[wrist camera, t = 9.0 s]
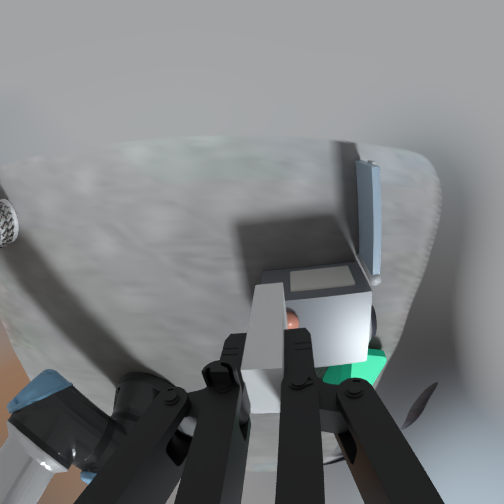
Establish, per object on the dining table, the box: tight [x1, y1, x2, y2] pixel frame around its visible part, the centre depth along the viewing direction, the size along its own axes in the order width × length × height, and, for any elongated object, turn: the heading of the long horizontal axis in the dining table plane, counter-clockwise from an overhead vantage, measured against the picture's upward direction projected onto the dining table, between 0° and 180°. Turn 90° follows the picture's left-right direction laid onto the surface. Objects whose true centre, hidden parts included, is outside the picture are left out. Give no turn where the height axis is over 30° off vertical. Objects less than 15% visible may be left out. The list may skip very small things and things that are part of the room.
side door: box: [355, 160, 382, 286], centre depth 29 cm, size 1×12×7 cm, turn 8°
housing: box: [260, 261, 377, 368], centre depth 34 cm, size 10×13×8 cm
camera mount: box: [323, 349, 387, 385], centre depth 38 cm, size 12×8×10 cm, turn 170°
